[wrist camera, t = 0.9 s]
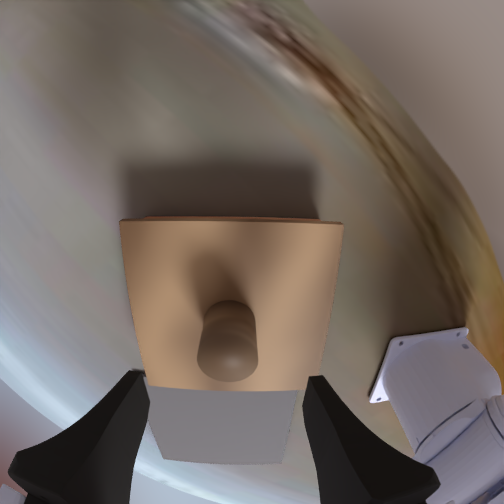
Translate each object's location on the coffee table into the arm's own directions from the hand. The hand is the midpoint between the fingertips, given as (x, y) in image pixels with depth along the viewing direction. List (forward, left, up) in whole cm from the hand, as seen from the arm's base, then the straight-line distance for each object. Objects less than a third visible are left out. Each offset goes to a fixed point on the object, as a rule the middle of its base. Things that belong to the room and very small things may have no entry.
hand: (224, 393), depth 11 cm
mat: (+1, +16, -9) cm, 18 cm away
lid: (0, 0, -6) cm, 6 cm away
